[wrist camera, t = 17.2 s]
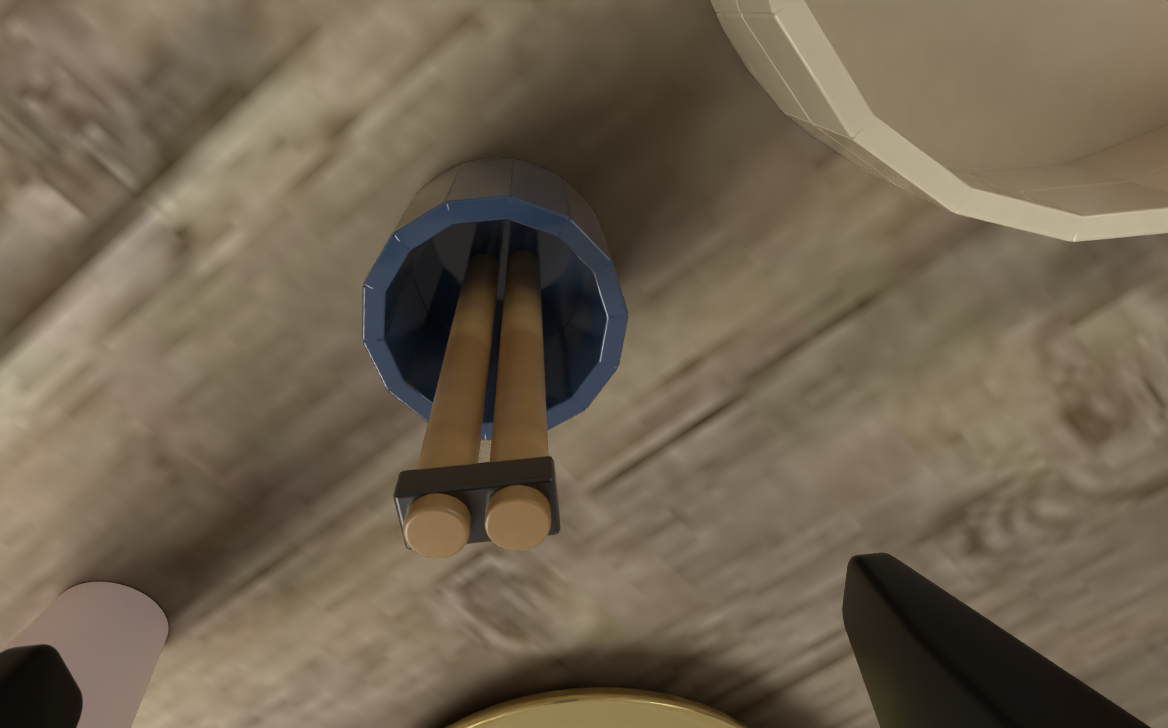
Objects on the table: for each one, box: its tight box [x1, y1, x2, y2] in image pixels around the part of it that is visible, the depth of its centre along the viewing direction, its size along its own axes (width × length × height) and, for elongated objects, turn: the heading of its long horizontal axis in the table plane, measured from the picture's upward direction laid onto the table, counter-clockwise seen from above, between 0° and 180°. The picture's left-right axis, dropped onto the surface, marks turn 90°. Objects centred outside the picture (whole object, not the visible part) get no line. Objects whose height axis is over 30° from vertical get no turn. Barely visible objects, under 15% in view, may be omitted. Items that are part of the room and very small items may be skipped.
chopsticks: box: [393, 249, 560, 558], centre depth 14 cm, size 1×2×11 cm, turn 94°
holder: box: [362, 158, 628, 440], centre depth 18 cm, size 6×6×4 cm
